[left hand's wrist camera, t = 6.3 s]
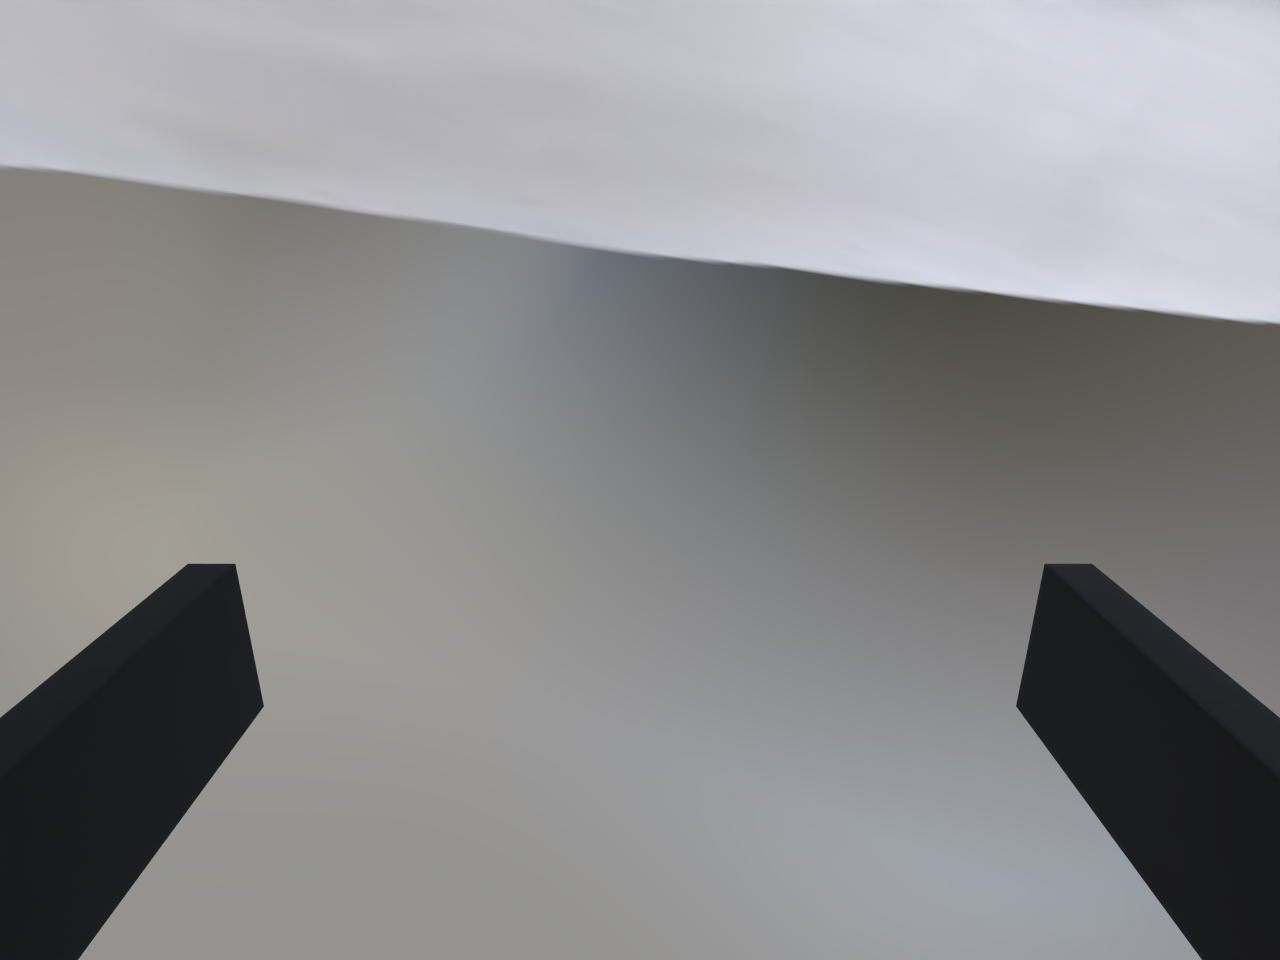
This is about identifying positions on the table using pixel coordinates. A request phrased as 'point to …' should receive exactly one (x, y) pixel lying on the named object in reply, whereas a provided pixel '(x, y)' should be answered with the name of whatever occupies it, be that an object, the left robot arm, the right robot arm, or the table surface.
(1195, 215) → the table surface
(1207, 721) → the left robot arm
